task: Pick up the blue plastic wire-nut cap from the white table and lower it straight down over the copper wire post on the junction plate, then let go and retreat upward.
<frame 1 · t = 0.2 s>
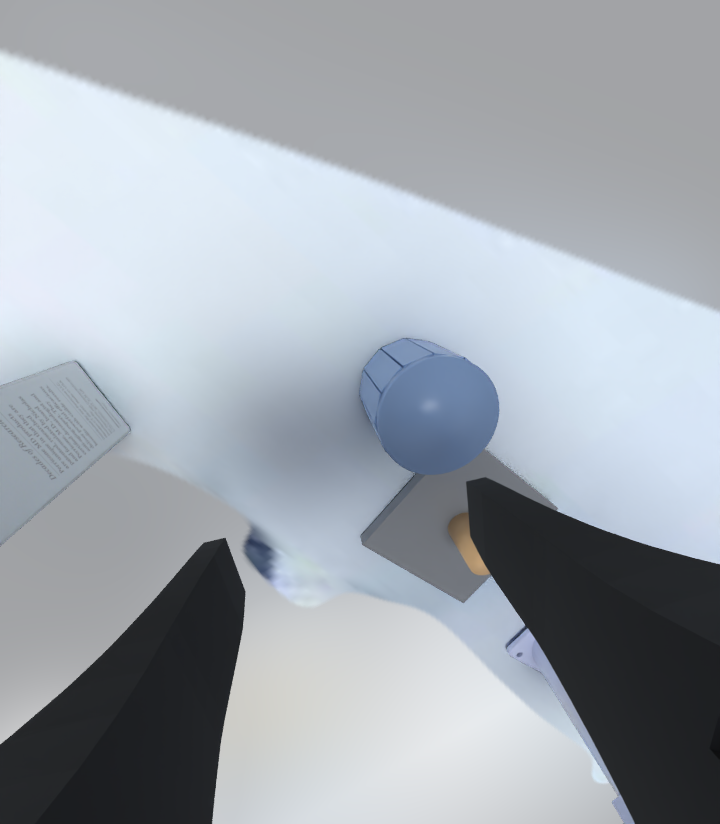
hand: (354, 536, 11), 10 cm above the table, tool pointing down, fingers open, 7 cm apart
skincare box: (57, 421, 18), on the table
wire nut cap: (407, 387, 20), on the table
junction plate: (458, 518, 23), on the table
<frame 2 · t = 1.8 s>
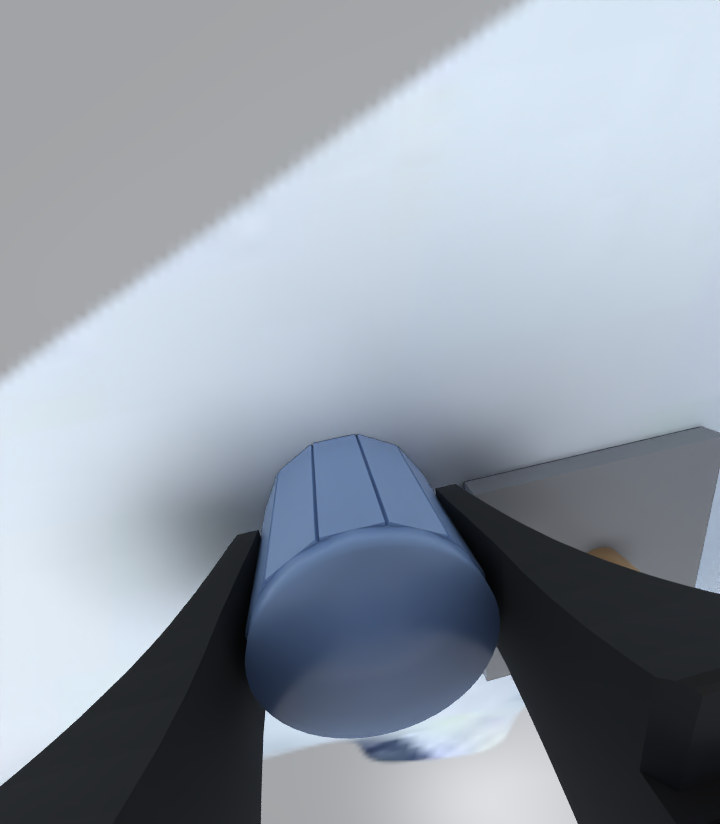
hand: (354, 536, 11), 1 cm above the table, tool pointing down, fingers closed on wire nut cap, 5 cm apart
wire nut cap: (349, 509, 12), on the table, touching gripper
junction plate: (580, 554, 14), on the table
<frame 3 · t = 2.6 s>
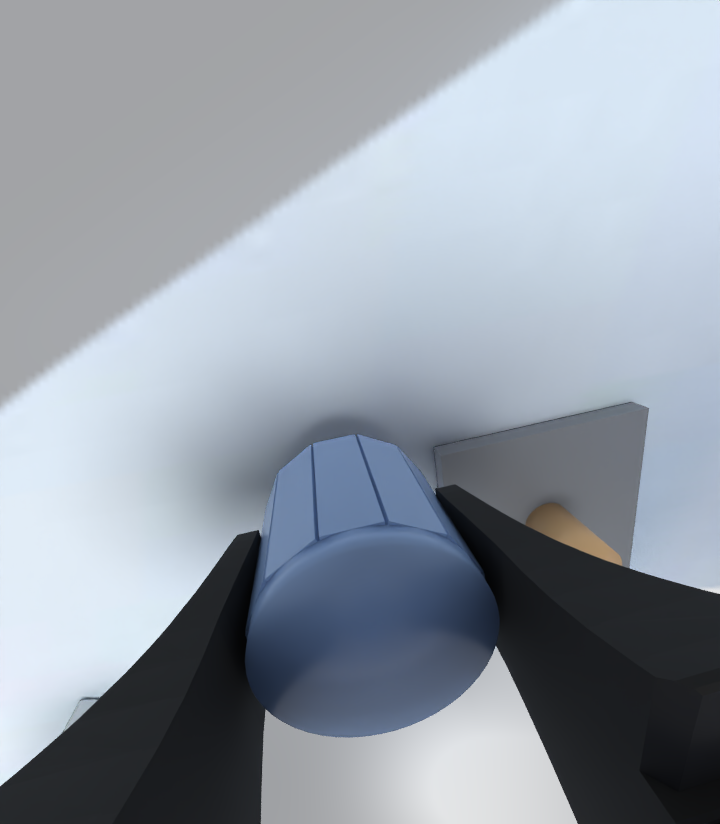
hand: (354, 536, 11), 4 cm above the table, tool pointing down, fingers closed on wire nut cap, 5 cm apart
skincare box: (126, 734, 18), on the table
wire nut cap: (349, 508, 12), point 3 cm above the table, touching gripper
junction plate: (535, 511, 17), on the table
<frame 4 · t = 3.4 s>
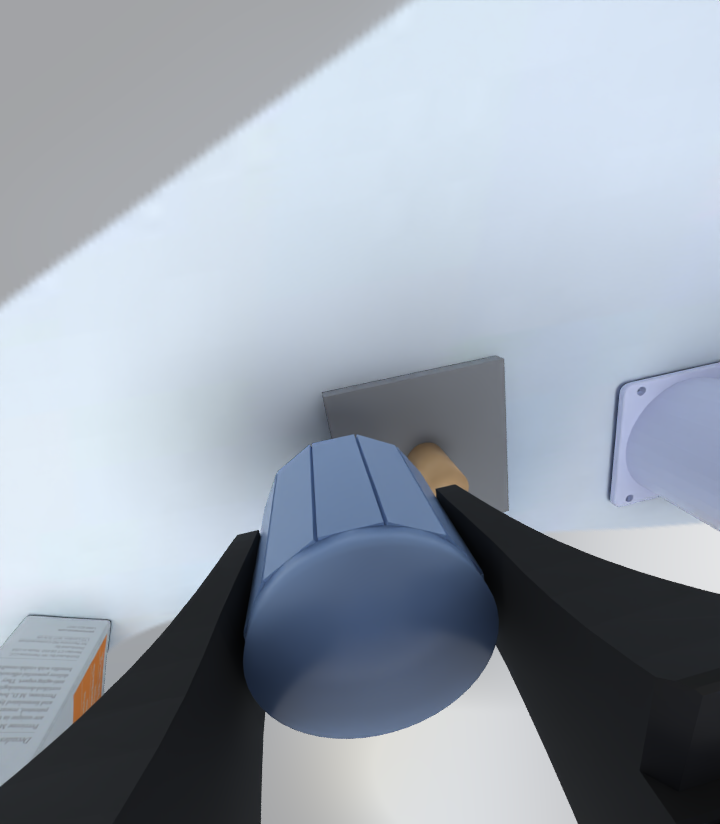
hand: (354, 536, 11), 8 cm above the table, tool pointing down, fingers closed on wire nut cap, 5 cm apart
skincare box: (71, 651, 21), on the table
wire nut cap: (348, 509, 12), point 7 cm above the table, touching gripper
junction plate: (420, 453, 20), on the table
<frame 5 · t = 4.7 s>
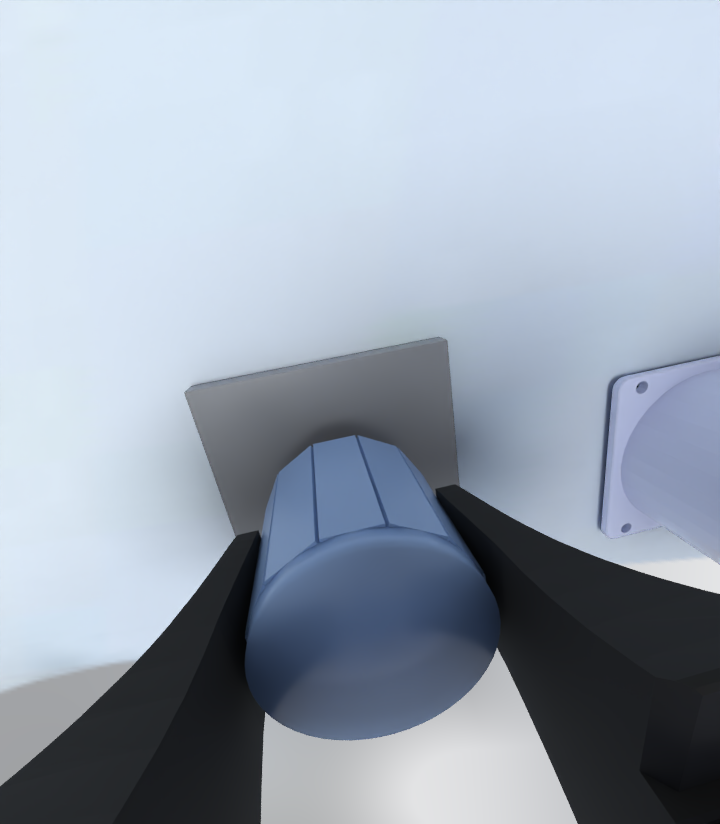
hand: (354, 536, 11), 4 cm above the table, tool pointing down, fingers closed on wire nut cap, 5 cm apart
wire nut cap: (349, 510, 12), point 3 cm above the table, touching gripper
junction plate: (341, 469, 15), on the table
when the fingers open (4 cm above the table, at t = 5.4 s): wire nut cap drops 2 cm, resting on junction plate.
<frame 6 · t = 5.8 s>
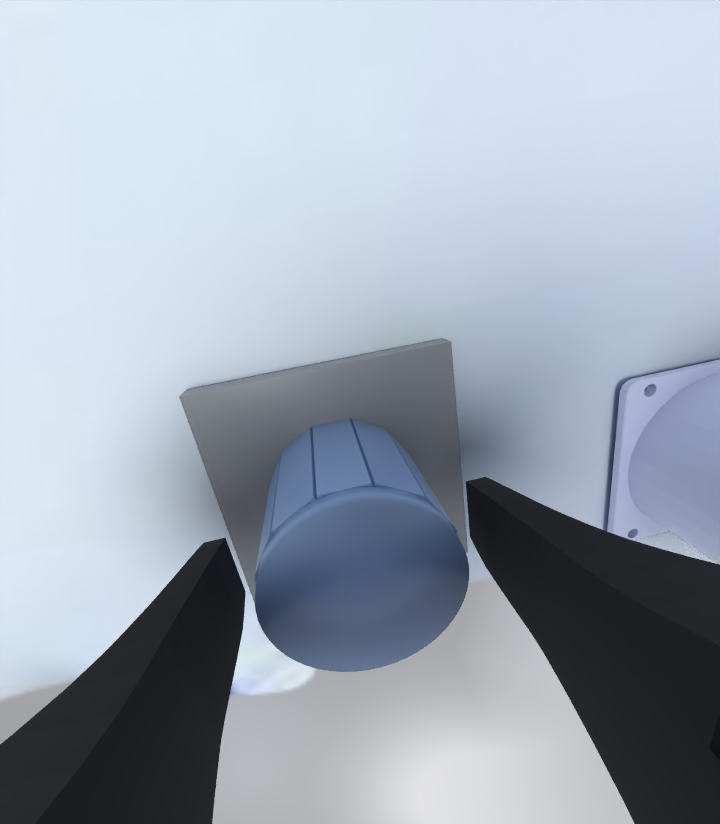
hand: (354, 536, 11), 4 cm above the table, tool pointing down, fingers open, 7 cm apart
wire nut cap: (344, 486, 13), point 1 cm above the table, touching junction plate
junction plate: (342, 475, 14), on the table
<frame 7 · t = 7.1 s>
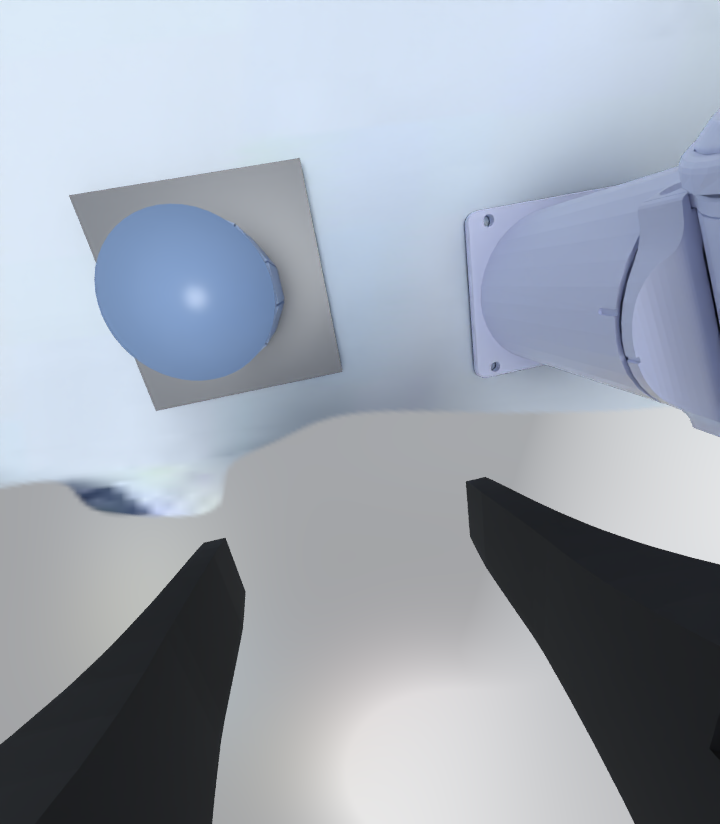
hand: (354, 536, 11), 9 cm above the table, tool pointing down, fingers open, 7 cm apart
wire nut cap: (222, 294, 16), point 1 cm above the table, touching junction plate
junction plate: (225, 293, 17), on the table
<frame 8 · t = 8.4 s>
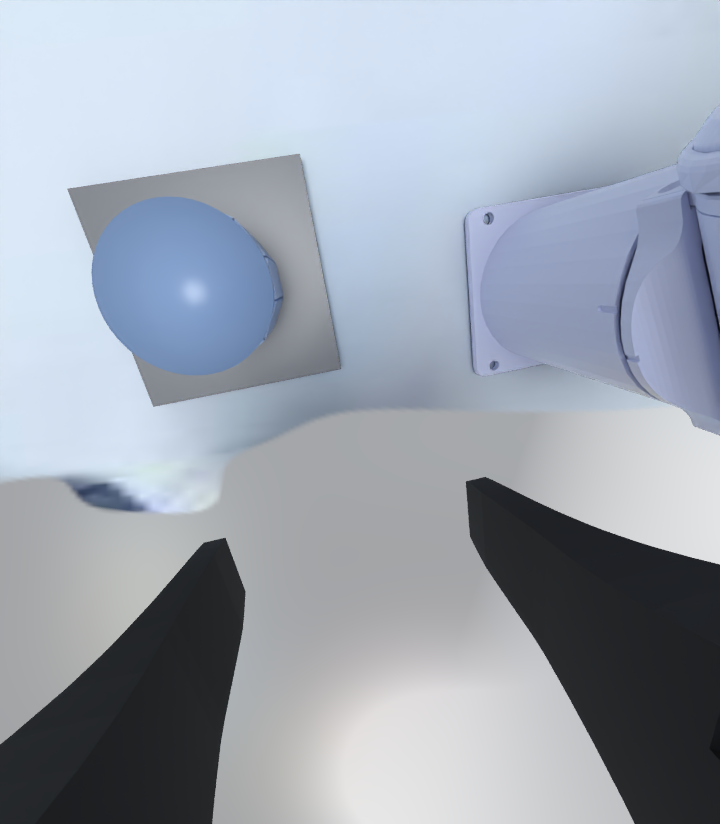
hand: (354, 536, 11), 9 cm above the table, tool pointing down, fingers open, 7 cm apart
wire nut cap: (220, 290, 16), point 1 cm above the table, touching junction plate
junction plate: (224, 289, 17), on the table
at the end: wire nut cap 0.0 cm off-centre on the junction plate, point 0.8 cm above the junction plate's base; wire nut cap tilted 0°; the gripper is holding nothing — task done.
